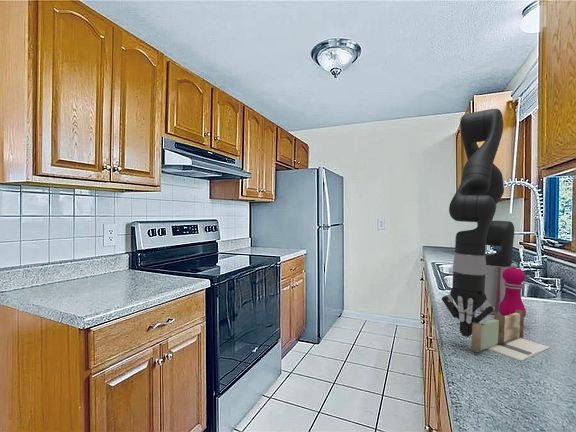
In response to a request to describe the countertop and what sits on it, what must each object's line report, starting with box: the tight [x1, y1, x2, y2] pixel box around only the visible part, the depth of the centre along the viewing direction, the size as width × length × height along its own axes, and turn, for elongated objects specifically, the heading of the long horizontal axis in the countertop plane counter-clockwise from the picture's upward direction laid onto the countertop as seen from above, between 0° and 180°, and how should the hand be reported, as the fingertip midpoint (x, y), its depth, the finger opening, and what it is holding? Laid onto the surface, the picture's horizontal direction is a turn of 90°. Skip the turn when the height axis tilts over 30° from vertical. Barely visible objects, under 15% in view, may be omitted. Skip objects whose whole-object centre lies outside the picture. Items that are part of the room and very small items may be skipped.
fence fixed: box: [493, 310, 525, 345], centre depth 91 cm, size 14×2×8 cm, turn 122°
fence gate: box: [471, 318, 499, 353], centre depth 84 cm, size 11×2×7 cm, turn 122°
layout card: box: [485, 337, 550, 362], centre depth 87 cm, size 16×12×1 cm
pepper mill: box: [499, 262, 527, 328], centre depth 104 cm, size 7×7×20 cm
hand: (465, 335), depth 86 cm, fingers closed
